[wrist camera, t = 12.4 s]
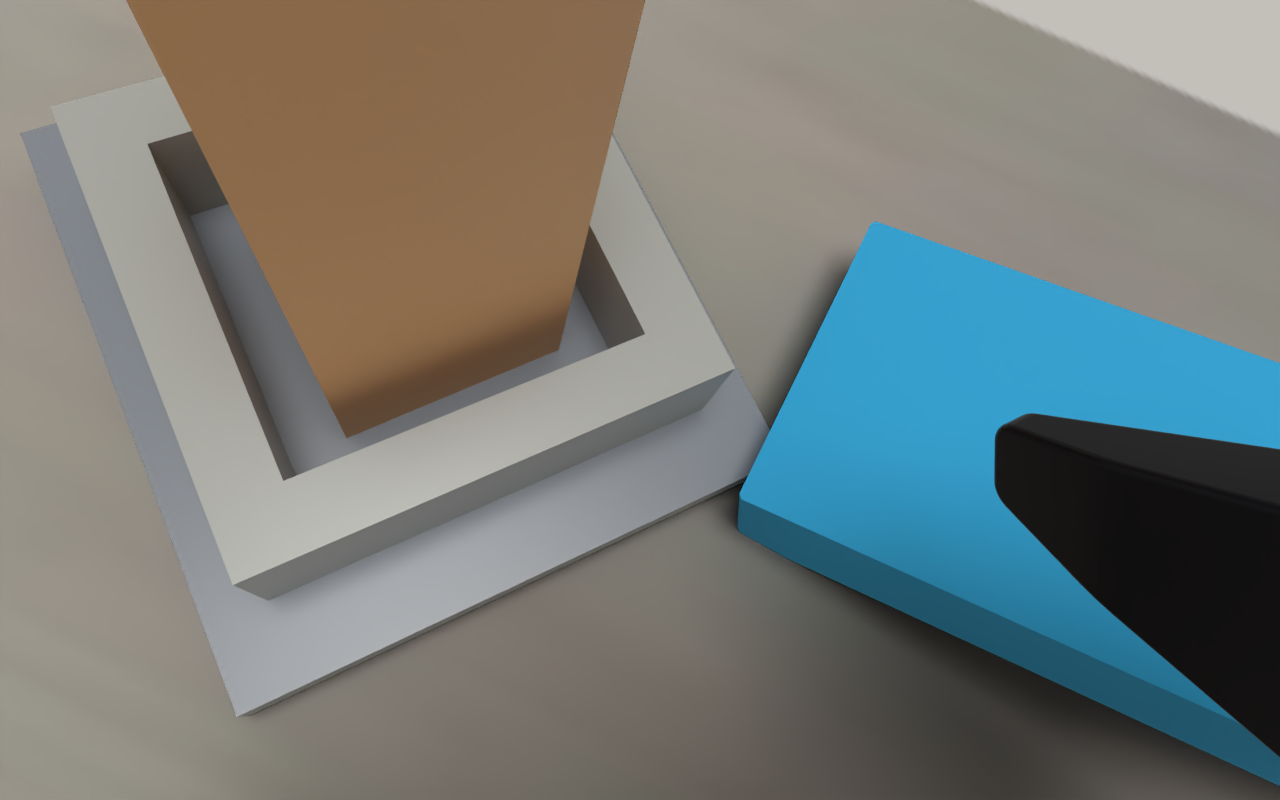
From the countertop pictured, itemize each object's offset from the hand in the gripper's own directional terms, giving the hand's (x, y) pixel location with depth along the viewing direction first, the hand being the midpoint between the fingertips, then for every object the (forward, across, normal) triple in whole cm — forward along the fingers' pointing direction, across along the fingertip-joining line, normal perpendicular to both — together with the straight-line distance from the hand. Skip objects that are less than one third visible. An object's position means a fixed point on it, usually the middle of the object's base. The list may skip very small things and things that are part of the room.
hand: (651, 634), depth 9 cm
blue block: (+4, -12, +10) cm, 16 cm away
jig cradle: (+12, 0, +1) cm, 12 cm away
